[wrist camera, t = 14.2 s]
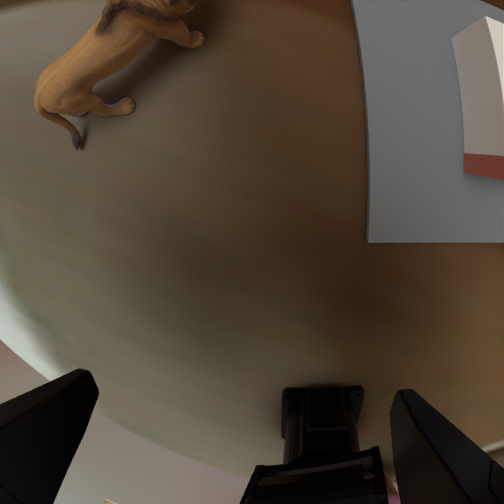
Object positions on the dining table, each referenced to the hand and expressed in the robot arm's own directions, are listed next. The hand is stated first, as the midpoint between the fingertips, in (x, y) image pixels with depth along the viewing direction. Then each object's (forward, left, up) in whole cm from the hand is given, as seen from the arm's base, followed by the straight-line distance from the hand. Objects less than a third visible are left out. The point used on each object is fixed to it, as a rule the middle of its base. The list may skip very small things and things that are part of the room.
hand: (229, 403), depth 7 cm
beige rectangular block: (+10, -15, -11) cm, 21 cm away
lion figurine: (+14, +7, -12) cm, 20 cm away
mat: (+10, -15, -12) cm, 22 cm away
